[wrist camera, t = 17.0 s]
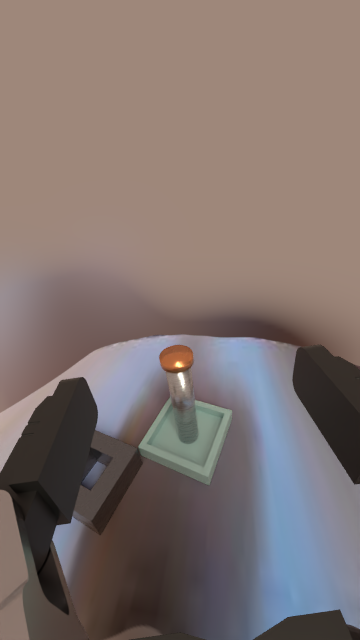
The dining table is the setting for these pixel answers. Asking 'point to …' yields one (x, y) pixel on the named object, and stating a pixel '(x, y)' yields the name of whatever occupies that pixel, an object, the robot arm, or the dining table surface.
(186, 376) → the pin
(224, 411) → the tray
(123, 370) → the dining table surface
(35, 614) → the robot arm
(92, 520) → the block
